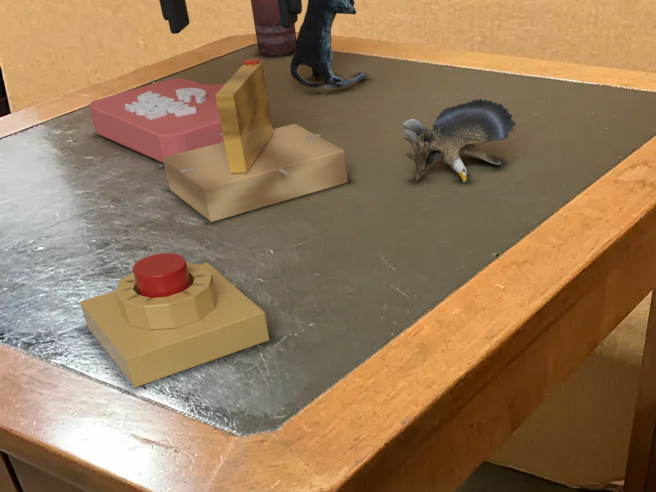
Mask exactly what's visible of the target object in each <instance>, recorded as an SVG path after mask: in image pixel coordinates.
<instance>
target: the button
mask: <svg viewBox="0 0 656 492" xmlns="http://www.w3.org/2000/svg"><path fill="white" fill-rule="evenodd" d="M186 262H187V260H186V258H185V257H184V256H182V255H181V254H177V253H173V252H172V253H171V252H162V253H157V254H151V255H148V256H145V257H143V258H140V259H139V260H138V261H136V262H135V263H134V265H133V266H132V273H134V277H135V280H136V284H137V288H138V291H139V294H140V295H141V296H145V297H150V298H158V297H167V296H171V295H174V294H177V293H180V292H183V291H184V290H186V289H187V288H189V287H190V286H191V281H190V277H189V272H188V268H187V264H186Z"/></svg>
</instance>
